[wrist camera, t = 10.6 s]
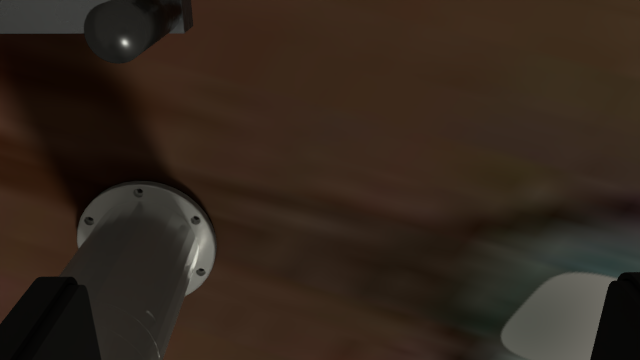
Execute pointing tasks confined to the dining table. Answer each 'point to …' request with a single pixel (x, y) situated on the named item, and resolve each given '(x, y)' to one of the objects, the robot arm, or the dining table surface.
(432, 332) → the dining table surface
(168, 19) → the shaft
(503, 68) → the dining table surface
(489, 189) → the dining table surface
